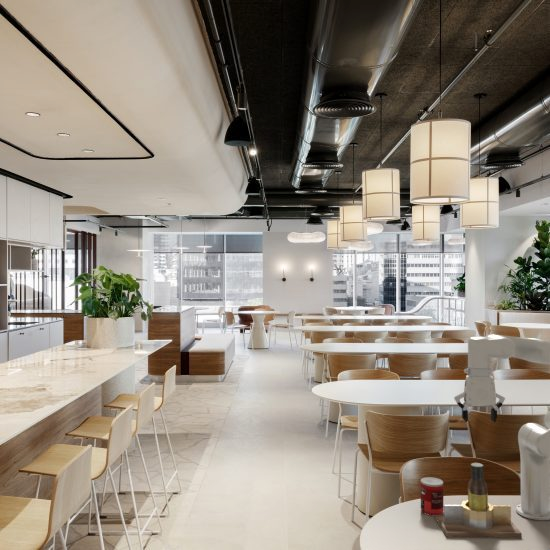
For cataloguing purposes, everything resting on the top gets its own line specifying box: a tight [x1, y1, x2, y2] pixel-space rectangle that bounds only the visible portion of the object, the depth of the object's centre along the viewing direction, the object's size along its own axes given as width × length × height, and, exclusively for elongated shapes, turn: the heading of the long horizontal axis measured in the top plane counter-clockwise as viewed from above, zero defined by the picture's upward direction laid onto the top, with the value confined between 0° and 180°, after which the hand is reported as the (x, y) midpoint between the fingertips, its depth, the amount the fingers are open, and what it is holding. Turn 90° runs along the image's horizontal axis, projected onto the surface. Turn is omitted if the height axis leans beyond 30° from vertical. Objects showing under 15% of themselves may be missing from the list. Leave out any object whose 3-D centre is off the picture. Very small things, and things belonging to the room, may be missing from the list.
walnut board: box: [435, 513, 523, 539], centre depth 194 cm, size 14×24×2 cm, turn 88°
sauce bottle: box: [467, 462, 489, 510], centre depth 194 cm, size 6×6×20 cm
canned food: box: [420, 476, 444, 516], centre depth 208 cm, size 8×8×11 cm
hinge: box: [443, 499, 512, 530], centre depth 194 cm, size 10×22×6 cm, turn 88°
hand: (479, 421), depth 204 cm, fingers open, 9 cm apart
